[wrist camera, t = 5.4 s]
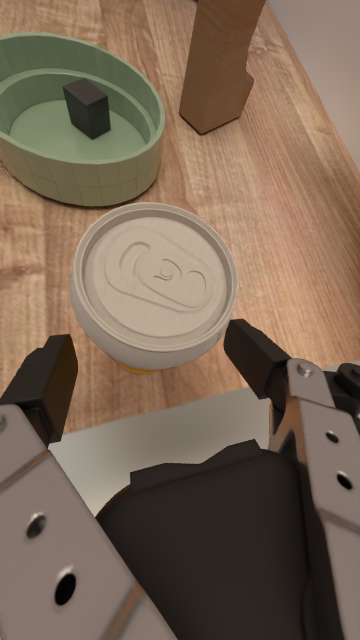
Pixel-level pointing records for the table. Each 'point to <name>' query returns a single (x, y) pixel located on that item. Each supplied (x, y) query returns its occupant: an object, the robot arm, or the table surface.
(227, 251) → the beer can
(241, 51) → the decorative block
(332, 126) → the table surface
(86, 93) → the block
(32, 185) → the bowl
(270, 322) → the table surface
